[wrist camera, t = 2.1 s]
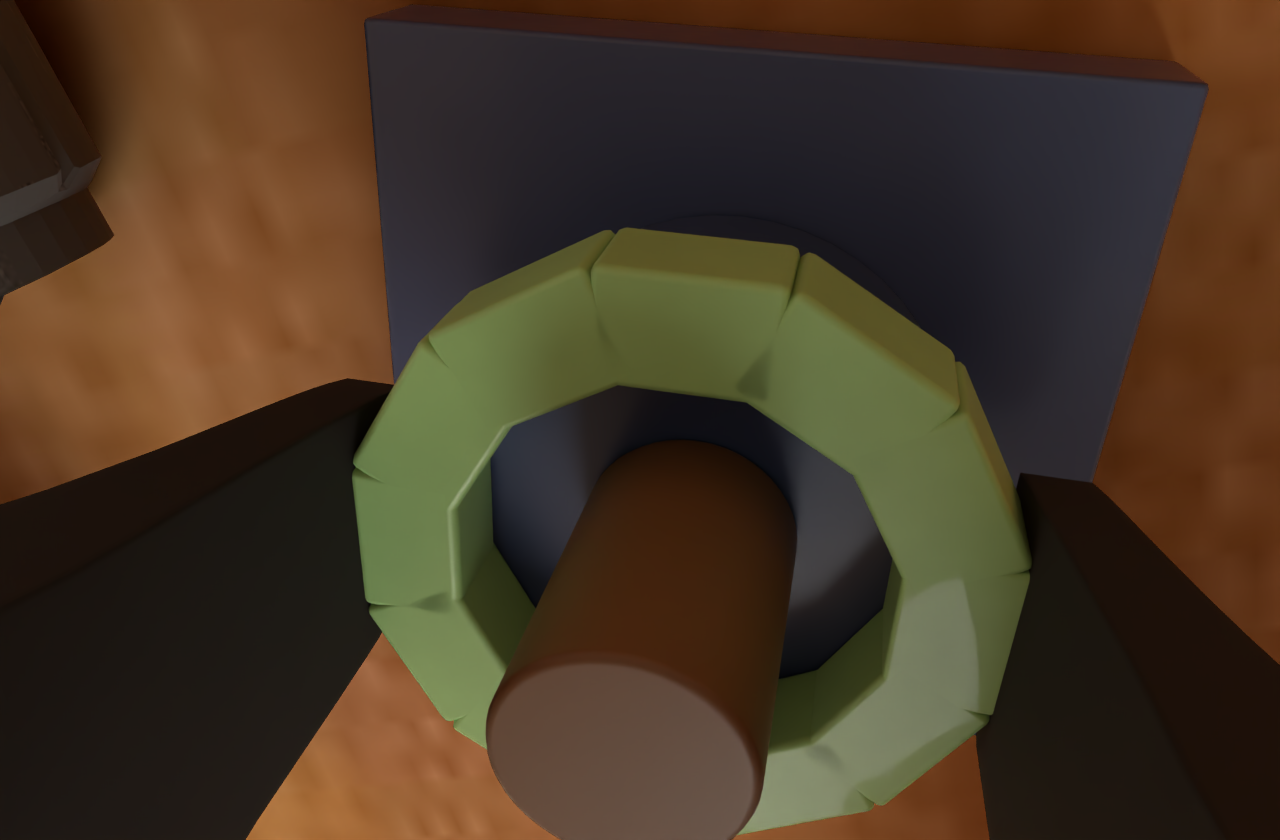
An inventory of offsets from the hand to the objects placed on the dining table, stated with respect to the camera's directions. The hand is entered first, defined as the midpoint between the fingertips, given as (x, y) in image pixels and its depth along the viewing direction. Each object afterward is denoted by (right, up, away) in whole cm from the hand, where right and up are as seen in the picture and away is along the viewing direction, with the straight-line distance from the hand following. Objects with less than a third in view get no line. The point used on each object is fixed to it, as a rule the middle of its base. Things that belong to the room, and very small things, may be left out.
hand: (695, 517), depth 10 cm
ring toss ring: (0, 0, 0) cm, 0 cm away
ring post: (+1, +1, +3) cm, 3 cm away
